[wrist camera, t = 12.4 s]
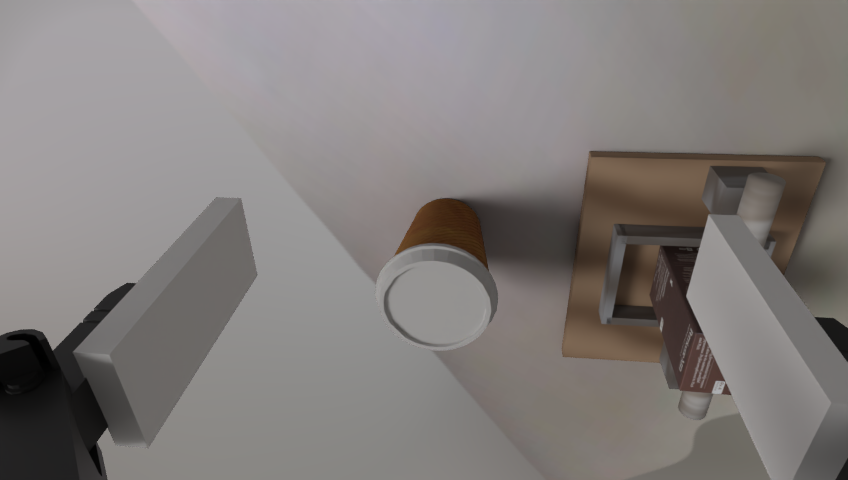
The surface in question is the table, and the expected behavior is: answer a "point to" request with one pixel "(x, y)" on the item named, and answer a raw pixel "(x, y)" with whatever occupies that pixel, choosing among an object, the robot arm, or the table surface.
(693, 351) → the box
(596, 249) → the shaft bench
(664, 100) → the table surface
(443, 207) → the disposable coffee cup
